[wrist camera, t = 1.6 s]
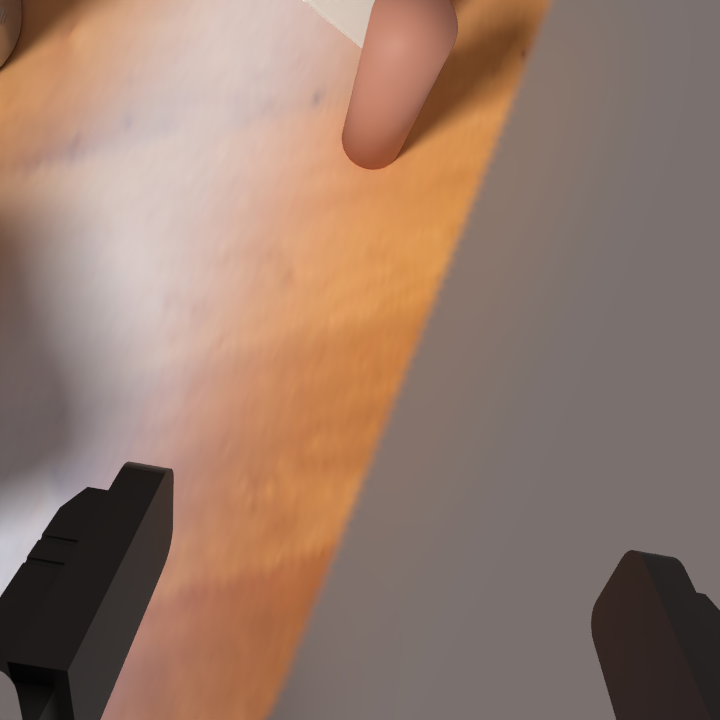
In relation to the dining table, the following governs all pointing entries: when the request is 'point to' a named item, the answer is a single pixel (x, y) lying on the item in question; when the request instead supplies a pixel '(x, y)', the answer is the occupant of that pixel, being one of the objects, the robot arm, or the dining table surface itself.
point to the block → (346, 16)
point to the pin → (395, 76)
